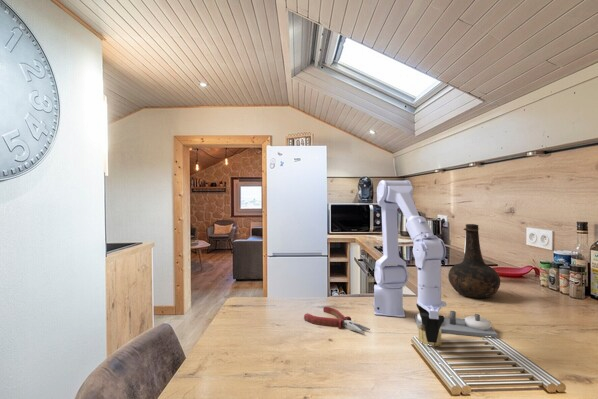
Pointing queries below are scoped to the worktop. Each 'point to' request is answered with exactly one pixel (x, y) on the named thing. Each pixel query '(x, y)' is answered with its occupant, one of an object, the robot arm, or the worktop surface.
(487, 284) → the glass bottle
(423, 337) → the brass gear
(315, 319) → the pliers
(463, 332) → the gear board
